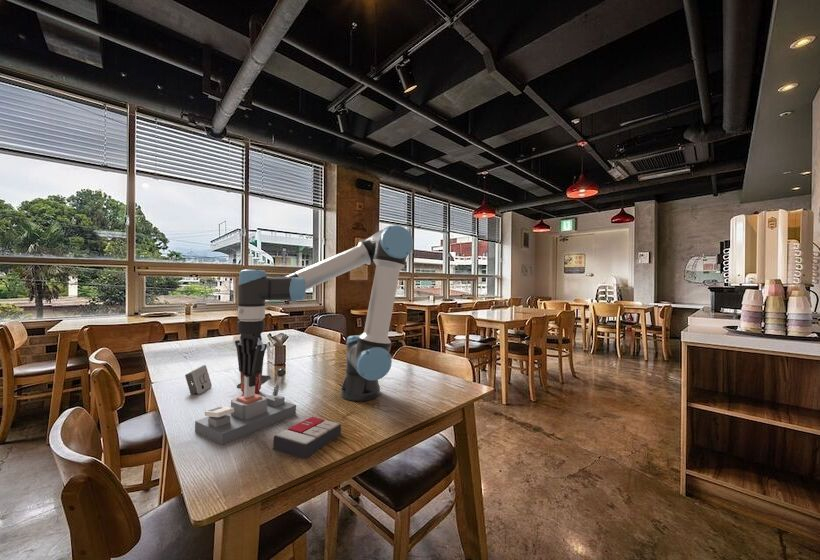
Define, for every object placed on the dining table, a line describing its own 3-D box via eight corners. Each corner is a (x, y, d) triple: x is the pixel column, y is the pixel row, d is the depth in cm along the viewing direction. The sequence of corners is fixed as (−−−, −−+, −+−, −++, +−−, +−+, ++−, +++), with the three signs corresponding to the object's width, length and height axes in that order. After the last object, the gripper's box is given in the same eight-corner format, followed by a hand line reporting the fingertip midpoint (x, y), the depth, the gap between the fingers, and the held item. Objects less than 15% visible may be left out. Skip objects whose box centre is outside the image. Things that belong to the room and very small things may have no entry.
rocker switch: (220, 410, 96) (220, 406, 96) (234, 411, 93) (233, 407, 93) (204, 415, 92) (204, 411, 92) (218, 417, 89) (218, 412, 89)
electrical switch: (200, 395, 122) (198, 370, 122) (185, 396, 121) (183, 372, 121) (212, 387, 131) (210, 364, 131) (198, 388, 130) (196, 365, 130)
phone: (235, 386, 131) (254, 375, 146) (235, 388, 131) (254, 377, 146) (255, 386, 130) (271, 375, 145) (255, 389, 130) (271, 378, 145)
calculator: (341, 422, 94) (306, 442, 81) (341, 437, 94) (305, 460, 80) (311, 415, 99) (273, 433, 85) (311, 429, 99) (272, 450, 85)
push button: (251, 405, 104) (252, 392, 104) (261, 409, 101) (261, 396, 101) (236, 410, 99) (236, 397, 99) (246, 414, 97) (246, 401, 97)
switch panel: (268, 404, 114) (269, 384, 114) (295, 414, 107) (296, 392, 107) (194, 431, 93) (195, 407, 93) (222, 445, 86) (223, 418, 86)
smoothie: (267, 389, 129) (268, 339, 129) (255, 397, 121) (256, 343, 121) (247, 388, 130) (248, 338, 130) (233, 396, 122) (235, 342, 122)
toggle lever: (275, 392, 110) (283, 366, 108) (280, 396, 108) (288, 370, 107) (268, 394, 107) (276, 368, 106) (273, 399, 106) (281, 372, 104)
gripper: (227, 319, 100) (225, 395, 100) (252, 322, 94) (250, 404, 94) (249, 317, 107) (247, 388, 107) (275, 320, 100) (273, 396, 100)
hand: (249, 396), depth 100 cm, fingers closed
